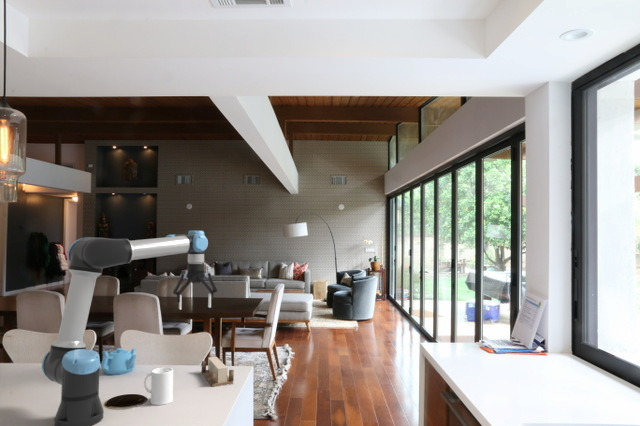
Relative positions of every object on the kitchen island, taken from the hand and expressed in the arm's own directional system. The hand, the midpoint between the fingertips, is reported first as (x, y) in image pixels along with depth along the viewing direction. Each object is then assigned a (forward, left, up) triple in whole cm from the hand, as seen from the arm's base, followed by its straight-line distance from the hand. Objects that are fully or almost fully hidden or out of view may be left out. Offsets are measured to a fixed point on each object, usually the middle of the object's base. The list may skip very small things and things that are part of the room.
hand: (195, 308), depth 210 cm
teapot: (+21, +31, -31) cm, 49 cm away
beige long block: (-10, -9, -30) cm, 32 cm away
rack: (-10, -8, -31) cm, 33 cm away
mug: (-28, +19, -31) cm, 46 cm away
